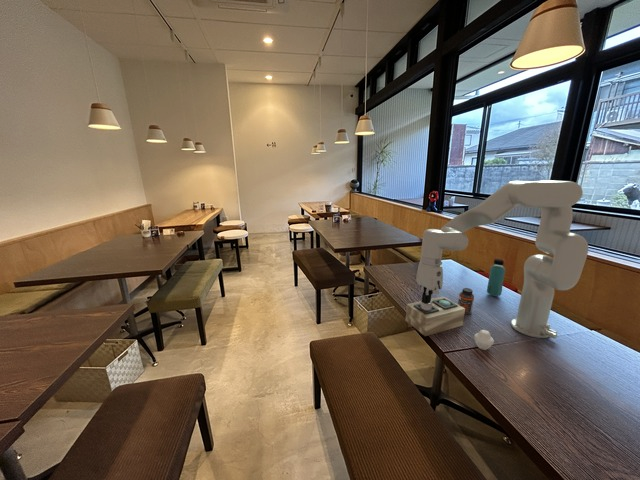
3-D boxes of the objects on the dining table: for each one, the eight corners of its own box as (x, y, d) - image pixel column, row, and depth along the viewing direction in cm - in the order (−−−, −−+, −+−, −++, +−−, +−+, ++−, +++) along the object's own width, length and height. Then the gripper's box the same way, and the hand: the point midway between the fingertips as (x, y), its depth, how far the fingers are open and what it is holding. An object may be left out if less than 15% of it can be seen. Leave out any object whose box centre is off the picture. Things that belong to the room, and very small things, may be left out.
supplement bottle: (456, 313, 119) (459, 290, 116) (457, 307, 124) (460, 285, 121) (471, 316, 116) (475, 293, 113) (471, 310, 121) (474, 288, 118)
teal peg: (450, 320, 112) (452, 303, 110) (442, 322, 110) (444, 305, 108) (442, 315, 116) (444, 299, 114) (435, 317, 114) (436, 301, 112)
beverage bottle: (503, 297, 133) (510, 260, 127) (494, 299, 130) (501, 262, 125) (491, 292, 138) (497, 256, 133) (482, 294, 136) (488, 258, 131)
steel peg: (432, 320, 108) (434, 303, 106) (424, 323, 106) (426, 305, 104) (425, 315, 112) (427, 298, 110) (417, 317, 110) (418, 300, 108)
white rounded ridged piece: (470, 346, 96) (472, 330, 94) (476, 339, 100) (479, 323, 98) (488, 355, 92) (491, 338, 90) (494, 347, 95) (497, 331, 94)
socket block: (462, 325, 109) (465, 307, 107) (425, 336, 103) (427, 317, 100) (440, 311, 120) (442, 294, 118) (405, 320, 113) (406, 303, 111)
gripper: (453, 265, 97) (447, 309, 101) (424, 253, 110) (420, 293, 115) (437, 267, 94) (432, 312, 99) (410, 255, 108) (406, 295, 112)
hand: (426, 302), depth 107 cm, fingers closed
